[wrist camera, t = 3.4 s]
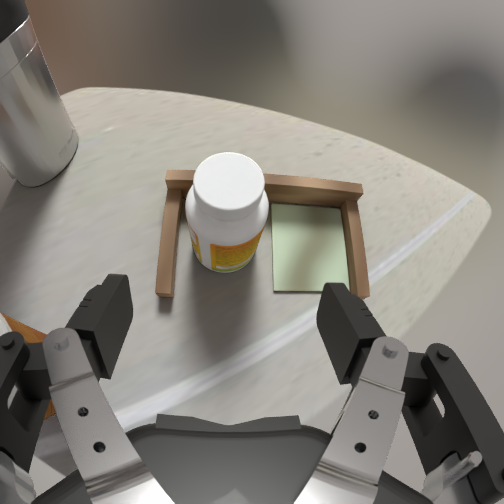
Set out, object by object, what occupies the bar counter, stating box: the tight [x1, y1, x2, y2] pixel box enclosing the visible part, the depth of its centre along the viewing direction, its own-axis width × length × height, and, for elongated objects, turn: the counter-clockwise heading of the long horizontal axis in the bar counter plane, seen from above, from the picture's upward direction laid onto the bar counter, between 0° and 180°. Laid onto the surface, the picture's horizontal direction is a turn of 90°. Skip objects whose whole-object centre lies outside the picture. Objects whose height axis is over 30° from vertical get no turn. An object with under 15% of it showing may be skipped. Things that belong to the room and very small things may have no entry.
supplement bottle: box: [185, 152, 269, 273], centre depth 20 cm, size 5×5×10 cm
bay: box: [155, 170, 370, 299], centre depth 23 cm, size 17×10×3 cm, turn 90°
